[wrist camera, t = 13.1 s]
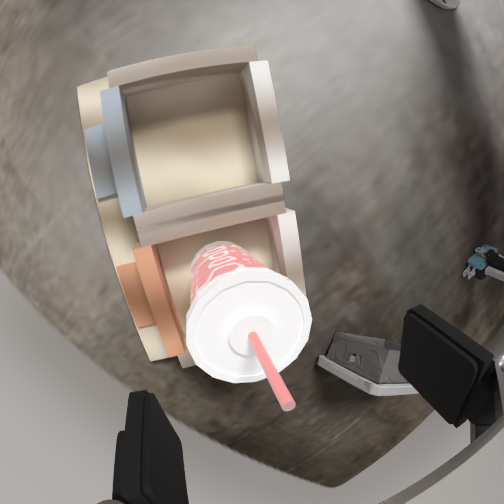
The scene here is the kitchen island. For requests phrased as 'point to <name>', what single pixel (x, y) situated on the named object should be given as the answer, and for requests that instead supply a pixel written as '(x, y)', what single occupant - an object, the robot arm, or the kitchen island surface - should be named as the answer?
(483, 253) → the push button
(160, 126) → the socket board
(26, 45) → the kitchen island surface
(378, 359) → the electrical switch
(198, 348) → the beverage cup
